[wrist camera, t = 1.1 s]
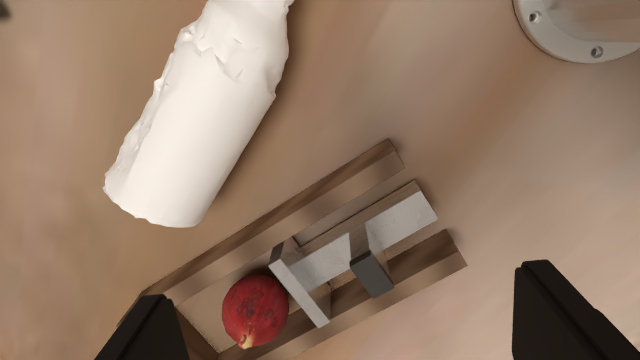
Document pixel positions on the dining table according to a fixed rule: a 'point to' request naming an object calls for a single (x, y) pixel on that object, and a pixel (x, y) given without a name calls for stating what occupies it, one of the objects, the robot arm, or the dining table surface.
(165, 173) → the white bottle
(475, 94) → the dining table surface
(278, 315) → the pomegranate
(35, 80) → the dining table surface
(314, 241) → the grey angular piece
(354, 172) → the guide
